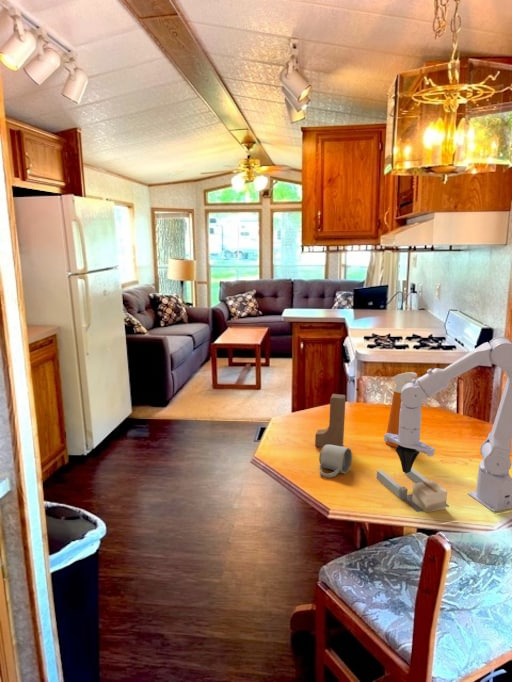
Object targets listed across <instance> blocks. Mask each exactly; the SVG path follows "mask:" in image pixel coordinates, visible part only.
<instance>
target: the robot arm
mask: <svg viewBox="0 0 512 682" xmlns="http://www.w3.org/2000/svg"><path fill="white" fill-rule="evenodd" d="M492 363H493V364H494V365H495V366H497V367H498V368H499V369H501V370H502V371H503V372H504V373H505V374H506V376H507V379H506V382H505V385H504V387H503V392H502V395H501V399H500V402H499V405H498V407H497V412H496V415H495V419H494V422H493V425H492V428H491V431H490V432H489V433H488V435H487V438H486V439H485V441H484V442H483V443H482V444H481V445H480V450H479V451H480V455H481V456H482V460H481V462H479V465H478V472H477V480H476V481H477V482H476V489H475V490H476V491H471V492H468V496H470V497H471V498H473V499H475V500H476V501H477V502H479V503H480V504H481V505H483V506H484V507H486V508H487V509H489V510H490V511H491V512H494V513H495V511H496V512H501V511H506V509H507V510H511V509H512V476H511V475H510V472H509V471H510V470H511V468H512V461H511V453H512V341H511V340H510V339H509V338H507V337H504V336H497V337H493V338H492V339H491V340H489V342H488V341H487V342H483V343H482V344H480V345H479V346H477V347H476V348H474V349H472V350H471V351H469V352H468V353H466V354H464V355H463V356H461V357H460V358H459V359H457V360H455V361H454V362H452V363H451V364H449V365H448V366H446V367H444V368H438V367H435V368H433V369H432V368H428V369H427V370H426V373H425V374H424V375H422V376H420V377H418V378H417V379H416V378H414V379H413V380H412V383H405V385H404V386H403V388H402V390H401V401H402V402H401V409H400V418H399V434H398V435H395V434H391V433H387V432H386V433H387V434H386V433H385V434H384V435H383V436H384V439H383V440H384V442H385V441H390V442H393V443H396V444H398V447H395V452H396V455H397V456H398V458H399V461H400V465H401V469H402V473H404V474H405V473H409V472H410V471H411V468H413V464H414V463H415V461H416V458H417V457H418V455H419V454H420V453H421V454H422V453H423V454H425V455H427V456H428V457H429V458H430V457H433V456H435V447H432V446H429V445H428V444H426V443H424V442H423V441H421V427H422V426H421V425H422V405H423V402H424V401H425V399H429V398H431V397H432V396H434V395H435V394H438V393H439V392H441V391H443V390H445V389H446V388H448V387H449V386H450V382H451V380H452V379H455V378H456V377H458V376H460V375H462V374H465V373H466V372H468V371H470V370H472V369H474V368H476V367H479V366H483V367H493V366H492Z"/></svg>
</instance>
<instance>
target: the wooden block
mask: <svg viewBox="0 0 512 682" xmlns="http://www.w3.org/2000/svg"><path fill="white" fill-rule="evenodd" d="M346 397H347V396H346V395H345V394H337V393H332V394H331V397H330V398H329V399H330V401H329V402H330V403H329V421H328V423H329V425H328V427H327V428H326V429H318V430H317V431H316V432H315V436H314V437H315V438H314V440H315V441H314V442H315V444H314V446H315V447H318V448H322V447H323V446H324V445H335V446H341V447H344V439H345V438H344V437H345V436H344V433H345V414H346Z"/></svg>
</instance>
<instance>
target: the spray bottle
mask: <svg viewBox="0 0 512 682" xmlns="http://www.w3.org/2000/svg"><path fill="white" fill-rule="evenodd" d="M417 377H418V373H416V372H414V371H411V372H403V373H398V374H396V375H394V376H392V377H391V378H390V379H391V381H393V382H395V384H394V386H393V389H394V390H393V394H392V399H391V404H390V411H389V416H388V417H389V418H388V423H387V428H386V433H385V434H387V433H391V434H395V435H398V434H399V418H400V409H401V402H402V401H401V390H402V388H403V386H404V385H405V384H407V383H412V380H413V379H415V378H417ZM384 442H385V444H386V445H387V446H390V447H393V448H397V447H398V444H396V443H393V442H390V441H384Z"/></svg>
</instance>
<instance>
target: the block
mask: <svg viewBox="0 0 512 682" xmlns="http://www.w3.org/2000/svg"><path fill="white" fill-rule="evenodd" d="M412 485H413V486H412V493H411V494H412V501H413V502H414V503H415V504H416V505H418V506H419V507H420V508H421V509H422V510H423V511H424V512H425V513H430V512H435V511H442V510H446V504H447V501H448V500H447V498H448V490H446V489H445V488H444V487H442V486H441V485H439V484H438V483H437V482H435V481H434V480H429V481H427V482H420V483H416V482H414V483H413V484H412ZM423 511H422V512H423Z"/></svg>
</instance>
